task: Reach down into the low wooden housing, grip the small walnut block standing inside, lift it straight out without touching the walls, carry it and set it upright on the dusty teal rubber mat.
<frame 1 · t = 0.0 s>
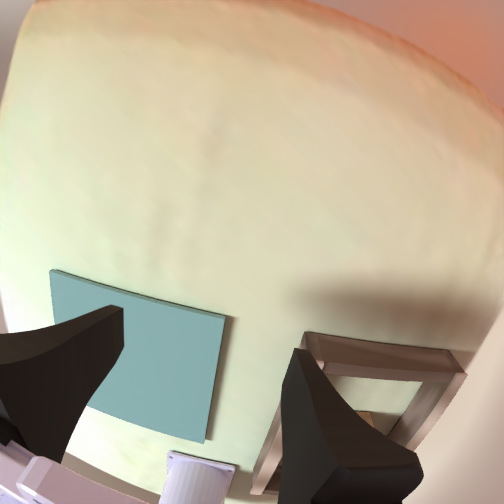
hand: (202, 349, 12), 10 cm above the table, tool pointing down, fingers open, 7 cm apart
mat: (128, 367, 25), on the table
housing: (343, 424, 25), on the table
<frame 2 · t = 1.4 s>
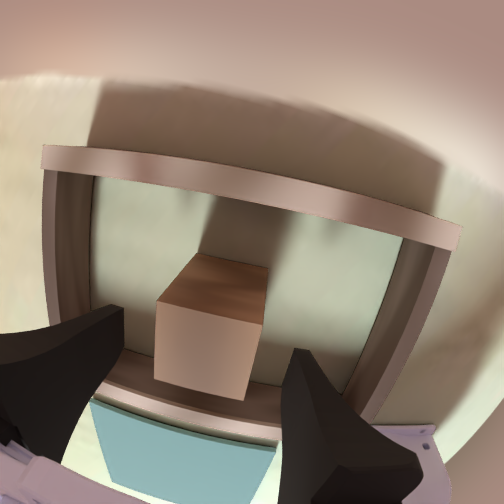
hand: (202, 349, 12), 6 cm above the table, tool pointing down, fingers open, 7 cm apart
walnut block: (216, 319, 14), in the housing
mat: (176, 471, 23), on the table
housing: (225, 294, 17), on the table
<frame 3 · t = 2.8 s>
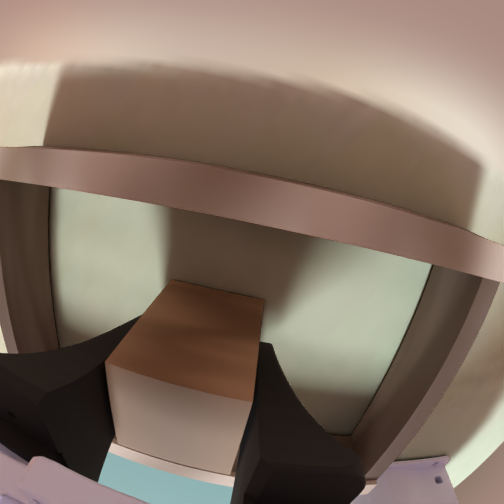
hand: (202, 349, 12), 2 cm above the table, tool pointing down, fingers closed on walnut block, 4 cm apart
walnut block: (194, 370, 10), in the housing, touching gripper
mat: (166, 501, 20), on the table
housing: (210, 329, 13), on the table
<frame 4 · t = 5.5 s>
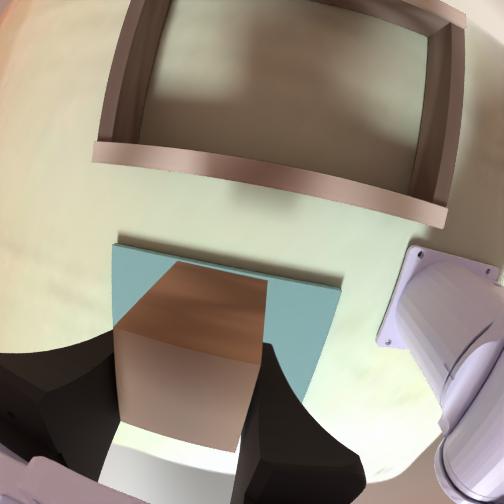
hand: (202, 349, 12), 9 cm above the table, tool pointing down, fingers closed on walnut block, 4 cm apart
walnut block: (200, 346, 11), point 10 cm above the table, touching gripper
mat: (209, 360, 23), on the table
housing: (290, 72, 16), on the table
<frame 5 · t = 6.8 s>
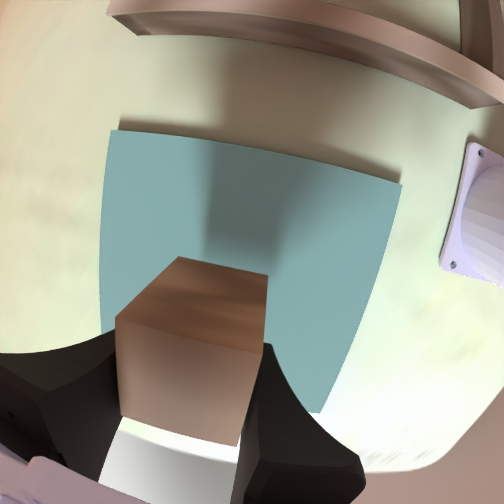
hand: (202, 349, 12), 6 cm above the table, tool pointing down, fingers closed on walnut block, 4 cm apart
walnut block: (201, 340, 11), point 7 cm above the table, touching gripper
mat: (226, 290, 17), on the table
when the fingers open (3 cm above the table, at t = 8.0 s): walnut block stays where it is, resting on mat.
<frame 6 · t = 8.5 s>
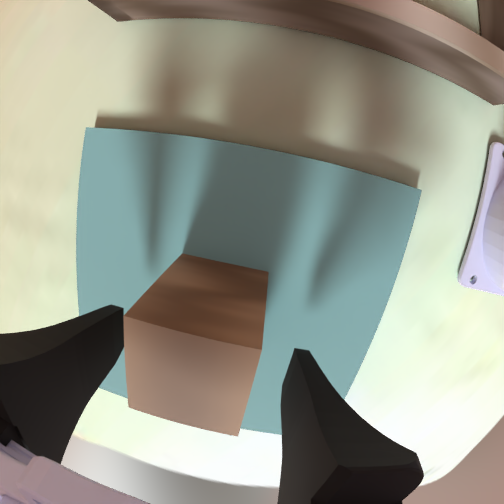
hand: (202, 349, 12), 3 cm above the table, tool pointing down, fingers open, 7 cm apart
walnut block: (204, 335, 11), on the mat
mat: (217, 310, 15), on the table
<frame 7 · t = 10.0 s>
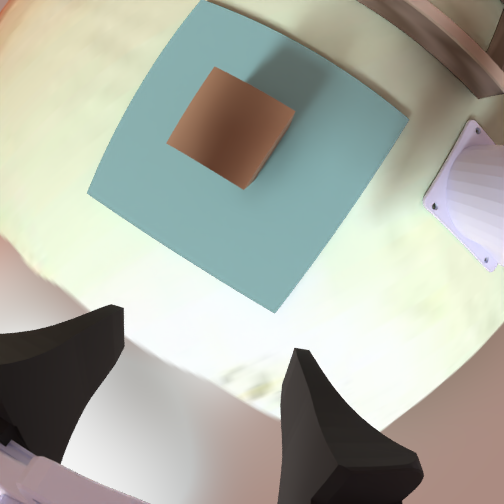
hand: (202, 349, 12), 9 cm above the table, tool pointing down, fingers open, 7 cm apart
walnut block: (237, 132, 15), on the mat
mat: (238, 147, 18), on the table
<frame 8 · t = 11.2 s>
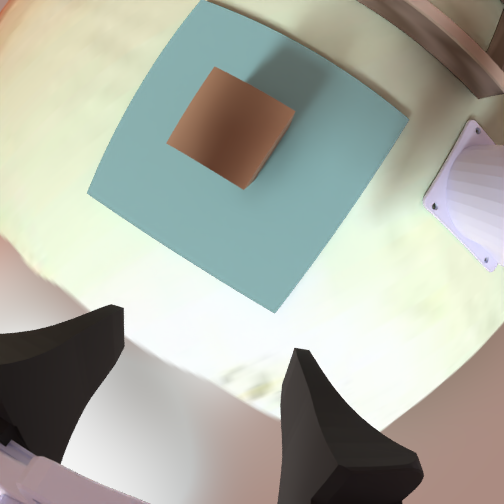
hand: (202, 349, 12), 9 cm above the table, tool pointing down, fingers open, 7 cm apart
walnut block: (237, 132, 15), on the mat
mat: (238, 147, 18), on the table
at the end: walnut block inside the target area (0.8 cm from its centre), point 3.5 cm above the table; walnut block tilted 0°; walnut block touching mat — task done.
